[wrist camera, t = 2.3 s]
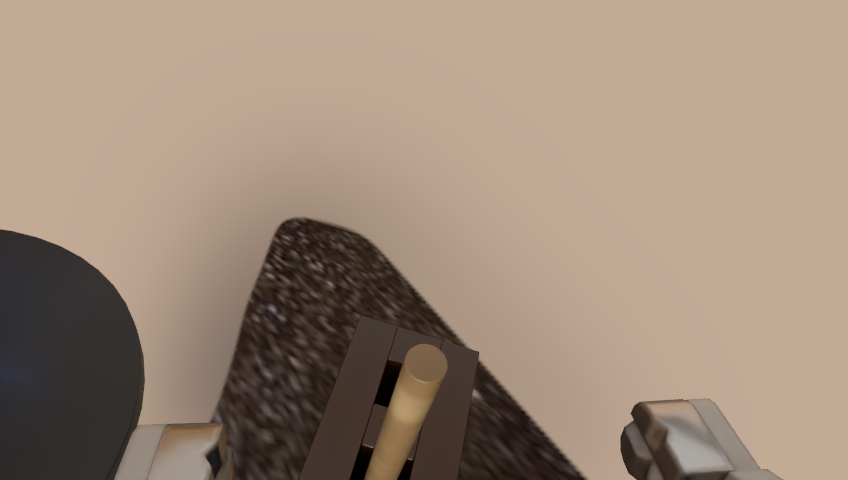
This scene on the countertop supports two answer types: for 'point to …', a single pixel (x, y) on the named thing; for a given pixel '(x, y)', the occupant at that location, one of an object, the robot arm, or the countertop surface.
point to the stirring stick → (407, 410)
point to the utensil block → (368, 402)
